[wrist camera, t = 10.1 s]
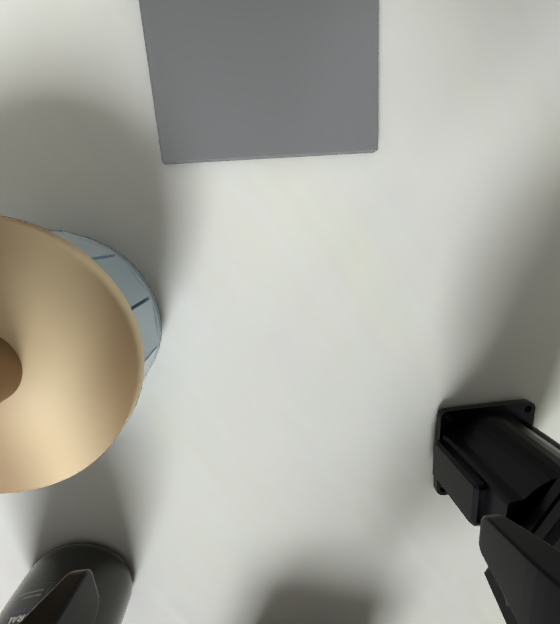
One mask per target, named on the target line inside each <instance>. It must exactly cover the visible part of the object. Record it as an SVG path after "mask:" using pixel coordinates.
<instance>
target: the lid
mask: <svg viewBox="0 0 560 624" xmlns="http://www.w3.org/2000/svg"><path fill="white" fill-rule="evenodd" d="M144 362H145V359H144V349H143V342H142V338H141V334H140V330H139V326H138V324H137V321H136V319H135V316H134V314H133V311H132V309H131V307H130V305H129V304H128V302H127V300H126V298H125V297H124V295H123V293H122V292H121V290H120V289H119V288H118V286H117V285H116V284H115V282H114V281H113V280H112V278H111V277H110V276H109V275H108V274H107V273H106V272H105V271H104V270H103V269H102V268H101V266H100V265H99V264H98V263H96V262H95V261H94V260H93V259H92V258H91V257H89V256H88V255H87V254H86V253H85V252H83V251H82V250H81V249H79V248H78V247H76V246H75V245H73V244H72V243H70V242H69V241H67V240H66V239H64V238H62V237H60V236H58V235H56V234H54V233H52V232H50V231H49V230H47V229H44V228H42V227H39V226H36V225H34V224H31V223H28V222H26V221H22V220H18V219H14V218H10V217H6V216H0V493H15V492H23V491H29V490H35V489H39V488H42V487H46V486H49V485H53V484H55V483H58V482H60V481H62V480H65V479H67V478H70V477H71V476H73V475H75V474H76V473H78V472H80V471H82V470H83V469H85V468H86V467H87V466H89V465H90V464H91V463H93V462H94V461H95V460H97V459H98V458H99V457H100V456H101V455H102V454H103V453H104V452H105V451H106V450H107V449H108V448H109V446H110V445H111V444H112V442H113V441H114V439H115V438H116V437H117V435H118V434H119V432H120V431H121V429H122V428H123V427H124V425H125V424H126V422H127V421H128V419H129V417H130V416H131V414H132V412H133V410H134V408H135V406H136V404H137V401H138V398H139V395H140V392H141V389H142V383H143V378H144Z"/></svg>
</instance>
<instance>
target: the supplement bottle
mask: <svg viewBox="0 0 560 624" xmlns="http://www.w3.org/2000/svg"><path fill="white" fill-rule="evenodd" d="M83 569H90V570H91V571H92V573H93V577H94V580H95V584H96V588H97V591H98V596H99V604H98V610H97V614H96V617H95V621H94V624H121V623H122V621H123V618H124V615H125V612H126V609H127V606H128V603H129V600H130V596H131V592H132V579H131V574H130V572H129V569H128V567H127V566H126V564H125V563H124V561H123V560H122V559H121V558H120V557H119V556H118V555H116V554H115V553H113V552H112V551H110V550H108V549H106V548H104V547H101V546H98V545H93V544H85V543H77V544H69V545H65V546H61V547H59V548H56V549H54V550H52V551H50V552H48V553H47V554H45V555H44V556H43V557H41V558H40V559H39V560H38V561H37V562H36V563H35V564H34V566H33V567H32V568H31V570H30V571H29V572H28V574H27V575H26V577H25V578H24V580H23V581H22V582H21V584H20V585H19V587H18V588H17V590H16V591H15V593H14V594H13V595H12V597H11V598H10V600H9V601H8V603H7V604H6V606H5V607H4V609H3V610H2V612H1V613H0V624H19V623H20V622H21V621H22V619H23V618H24V617H25V616H26V615H27V614H28V613H29V612H30V611H31V610H32V609H33V608H34V607H35V606H36V605H37V604H38V603H39V602H40V601H41V600H42V599H43V598H44V597H45V596H46V595H47V594H48V593H49V592H50V591H51V590H52V589H53V588H54V587H55V586H56V585H57V584H58V583H59V582H60V581H61V580H62V579H63V578H64V577H65V576H66V575H67V574H68V573H70V572H72V571H76V570H83Z"/></svg>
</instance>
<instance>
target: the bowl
mask: <svg viewBox="0 0 560 624" xmlns="http://www.w3.org/2000/svg"><path fill="white" fill-rule="evenodd" d="M50 232H52V233H54V234H56V235H58V236H60V237H62V238H64V239H66V240H67V241H69V242H70V243H72V244H73V245H75V246H76V247H78V248H79V249H81V250H82V251H83V252H85V253H86V254H87V255H88V256H89V257H91V258H92V259H93V260H94V261H95V262H96V263H98V264H99V265H100V266H101V268H102V269H103V270H104V271H105V272H106V273H107V274H108V275H109V276H110V277H111V278H112V280H113V281H114V282H115V284H116V285H117V286H118V288H119V289H120V290H121V292H122V293H123V295H124V297H125V298H126V300H127V302H128V304H129V305H130V307H131V309H132V311H133V314H134V316H135V319H136V321H137V324H138V326H139V330H140V334H141V338H142V342H143V349H144V359H145V362H144V378H145V376H146V374H147V372H148V371H149V369H150V368H151V366H152V364H153V362H154V360H155V358H156V355H157V353H158V350H159V345H160V340H161V319H160V313H159V309H158V305H157V302H156V300H155V297H154V294H153V293H152V291H151V289H150V287H149V285H148V283H147V282H146V281H145V279H144V278H143V276H142V275H141V274H140V272H139V271H138V270H137V269H136V268H135V267H134V266H133V265H132V264H131V263H130V262H129V261H128V260H127V259H125V258H124V257H123V256H122V255H120V254H119V253H117V252H116V251H114V250H113V249H111V248H110V247H108V246H106V245H104V244H102V243H100V242H97V241H95V240H92V239H90V238H87V237H83V236H79V235H75V234H70V233H68V232H62V231H50ZM144 378H143V381H144Z"/></svg>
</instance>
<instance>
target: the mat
mask: <svg viewBox="0 0 560 624" xmlns="http://www.w3.org/2000/svg"><path fill="white" fill-rule="evenodd" d="M139 4H140V11H141V18H142V25H143V32H144V39H145V46H146V52H147V59H148V66H149V73H150V80H151V87H152V94H153V101H154V108H155V115H156V122H157V128H158V135H159V142H160V149H161V156H162V162H163V163H165V164H176V163H194V162H212V161H230V160H248V159H266V158H284V157H302V156H320V155H338V154H356V153H374V152H375V151H377V150H378V0H139Z"/></svg>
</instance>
